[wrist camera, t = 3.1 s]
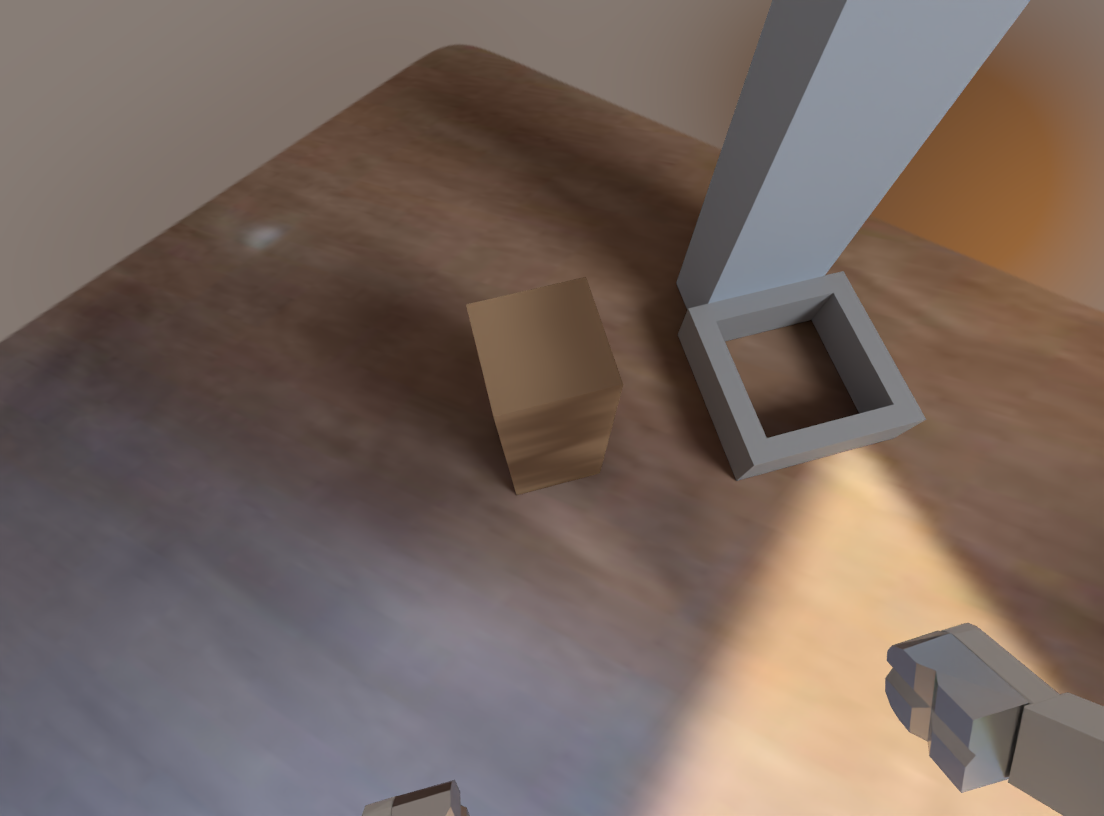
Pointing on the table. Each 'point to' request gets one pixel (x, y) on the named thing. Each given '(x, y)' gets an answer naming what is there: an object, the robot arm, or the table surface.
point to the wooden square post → (548, 381)
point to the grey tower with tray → (819, 201)
